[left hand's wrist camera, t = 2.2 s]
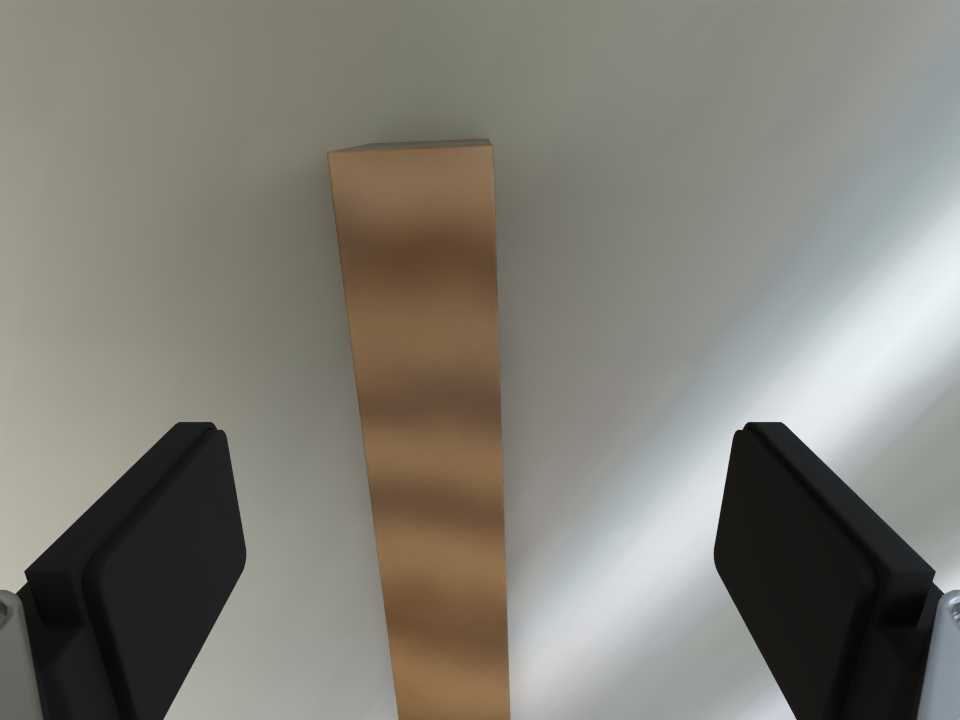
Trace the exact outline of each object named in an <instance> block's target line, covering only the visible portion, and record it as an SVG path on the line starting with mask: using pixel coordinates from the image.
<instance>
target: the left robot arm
mask: <svg viewBox="0 0 960 720" xmlns="http://www.w3.org/2000/svg"><path fill="white" fill-rule="evenodd" d="M245 562H246V546H245V541H244V535H243V529H242V523H241V517H240V512H239V506H238V500H237V494H236V488H235V482H234V477H233V471H232V465H231V459H230V453H229V448H228V442H227V437H226V434H225V432H224V431H223V430H217V428H216V426H215V425H214V424H213V423H212V422H178V423H177V424H175V425H174V426H173V427H172V428H171V429H170V430H169V431H168V432H167V433H166V434H165V435H164V436H163V437H162V438H161V439H160V440H159V441H158V442H157V443H156V444H155V445H154V446H153V447H152V448H151V449H150V450H149V451H148V452H147V453H146V454H144V455H143V456H142V457H141V458H140V459H139V460H138V461H137V462H136V463H135V464H134V465H133V466H132V467H131V468H130V469H129V470H128V471H127V472H126V473H125V474H124V475H123V476H122V477H121V478H120V479H119V480H118V481H117V482H116V483H115V484H114V485H113V486H112V487H111V488H110V489H109V490H107V491H106V492H105V493H104V494H103V495H102V496H101V497H100V498H99V499H98V500H97V501H96V502H95V503H94V504H93V505H92V506H91V507H90V508H89V509H88V510H87V511H86V512H85V513H84V514H83V515H82V516H81V517H80V518H79V519H78V520H77V521H76V522H75V523H74V524H73V525H72V526H70V527H69V528H68V529H67V530H66V531H65V532H64V533H63V534H62V535H61V536H60V537H59V538H58V539H57V540H56V541H55V542H54V543H53V544H52V545H51V546H50V547H49V548H48V549H47V550H46V551H45V552H44V553H43V554H42V555H41V556H40V557H39V558H38V559H37V560H36V561H35V562H33V563H32V564H31V565H30V566H29V567H28V568H27V569H26V570H25V571H24V572H25V575H26V578H27V581H28V582H27V583H26V584H25V585H24V586H23V587H22V588H21V589H20V590H19V591H18V592H17V593H16V594H14V593H12V592H10V591H7V590H0V720H163V719H164V717H165V715H166V714H167V712H168V710H169V708H170V706H171V704H172V702H173V701H174V699H175V697H176V695H177V693H178V691H179V689H180V687H181V686H182V684H183V682H184V680H185V678H186V676H187V674H188V672H189V671H190V669H191V667H192V665H193V663H194V661H195V659H196V658H197V656H198V654H199V652H200V650H201V648H202V646H203V644H204V643H205V641H206V639H207V637H208V635H209V633H210V631H211V630H212V628H213V626H214V624H215V622H216V620H217V618H218V616H219V615H220V613H221V611H222V609H223V607H224V605H225V603H226V602H227V600H228V598H229V596H230V594H231V592H232V590H233V588H234V587H235V585H236V583H237V581H238V579H239V577H240V575H241V573H242V572H243V569H244V566H245ZM714 562H715V566H716V569H717V572H718V574H719V575H720V577H721V579H722V581H723V583H724V585H725V587H726V588H727V590H728V592H729V594H730V596H731V598H732V600H733V602H734V603H735V605H736V607H737V609H738V611H739V613H740V615H741V616H742V618H743V620H744V622H745V624H746V626H747V628H748V630H749V631H750V633H751V635H752V637H753V639H754V641H755V643H756V644H757V646H758V648H759V650H760V652H761V654H762V656H763V658H764V659H765V661H766V663H767V665H768V667H769V669H770V671H771V672H772V674H773V676H774V678H775V680H776V682H777V684H778V686H779V687H780V689H781V691H782V693H783V695H784V697H785V699H786V701H787V702H788V704H789V706H790V708H791V710H792V712H793V714H794V715H795V717H796V719H797V720H960V590H953V591H950V592H948V593H946V594H944V593H943V592H942V591H941V590H940V589H939V588H938V587H937V586H936V585H935V584H934V583H933V582H932V581H933V578H934V575H935V572H936V571H935V570H934V569H933V568H932V567H931V566H930V565H929V564H928V563H927V562H925V561H924V560H923V559H922V558H921V557H920V556H919V555H918V554H917V553H916V552H915V551H914V550H913V549H912V548H911V547H910V546H909V545H908V544H907V543H906V542H905V541H904V540H903V539H902V538H901V537H900V536H899V535H898V534H897V533H896V532H895V531H894V530H893V529H892V528H891V527H890V526H888V525H887V524H886V523H885V522H884V521H883V520H882V519H881V518H880V517H879V516H878V515H877V514H876V513H875V512H874V511H873V510H872V509H871V508H870V507H869V506H868V505H867V504H866V503H865V502H864V501H863V500H862V499H861V498H860V497H859V496H858V495H857V494H856V493H855V492H854V491H853V490H851V489H850V488H849V487H848V486H847V485H846V484H845V483H844V482H843V481H842V480H841V479H840V478H839V477H838V476H837V475H836V474H835V473H834V472H833V471H832V470H831V469H830V468H829V467H828V466H827V465H826V464H825V463H824V462H823V461H822V460H821V459H820V458H819V457H818V456H817V455H816V454H814V453H813V452H812V451H811V450H810V449H809V448H808V447H807V446H806V445H805V444H804V443H803V442H802V441H801V440H800V439H799V438H798V437H797V436H796V435H795V434H794V433H793V432H792V431H791V430H790V429H789V428H788V427H787V426H786V425H785V424H783V423H782V422H748V423H747V424H746V425H745V426H744V428H743V430H737V431H736V432H735V434H734V437H733V442H732V448H731V453H730V459H729V465H728V471H727V477H726V482H725V488H724V494H723V500H722V506H721V512H720V517H719V523H718V529H717V535H716V541H715V546H714Z"/></svg>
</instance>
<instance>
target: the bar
mask: <svg viewBox="0 0 960 720" xmlns="http://www.w3.org/2000/svg"><path fill="white" fill-rule="evenodd" d="M327 158H328V166H329V173H330V181H331V189H332V197H333V205H334V213H335V221H336V229H337V237H338V244H339V252H340V260H341V268H342V276H343V284H344V292H345V300H346V308H347V315H348V323H349V331H350V339H351V347H352V355H353V363H354V371H355V378H356V386H357V394H358V402H359V410H360V418H361V426H362V434H363V442H364V449H365V457H366V465H367V473H368V481H369V489H370V497H371V505H372V513H373V520H374V528H375V536H376V544H377V552H378V560H379V568H380V576H381V584H382V591H383V599H384V607H385V615H386V623H387V631H388V639H389V647H390V655H391V662H392V670H393V678H394V686H395V694H396V702H397V710H398V718H399V720H510V696H509V662H508V629H507V596H506V563H505V529H504V496H503V463H502V430H501V396H500V363H499V330H498V296H497V263H496V230H495V197H494V163H493V146H492V144H491V143H490V141H489V139H472V140H448V141H425V142H401V143H378V144H366V145H361V146H356V147H351V148H346V149H341V150H336V151H331V152H328V153H327Z"/></svg>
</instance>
